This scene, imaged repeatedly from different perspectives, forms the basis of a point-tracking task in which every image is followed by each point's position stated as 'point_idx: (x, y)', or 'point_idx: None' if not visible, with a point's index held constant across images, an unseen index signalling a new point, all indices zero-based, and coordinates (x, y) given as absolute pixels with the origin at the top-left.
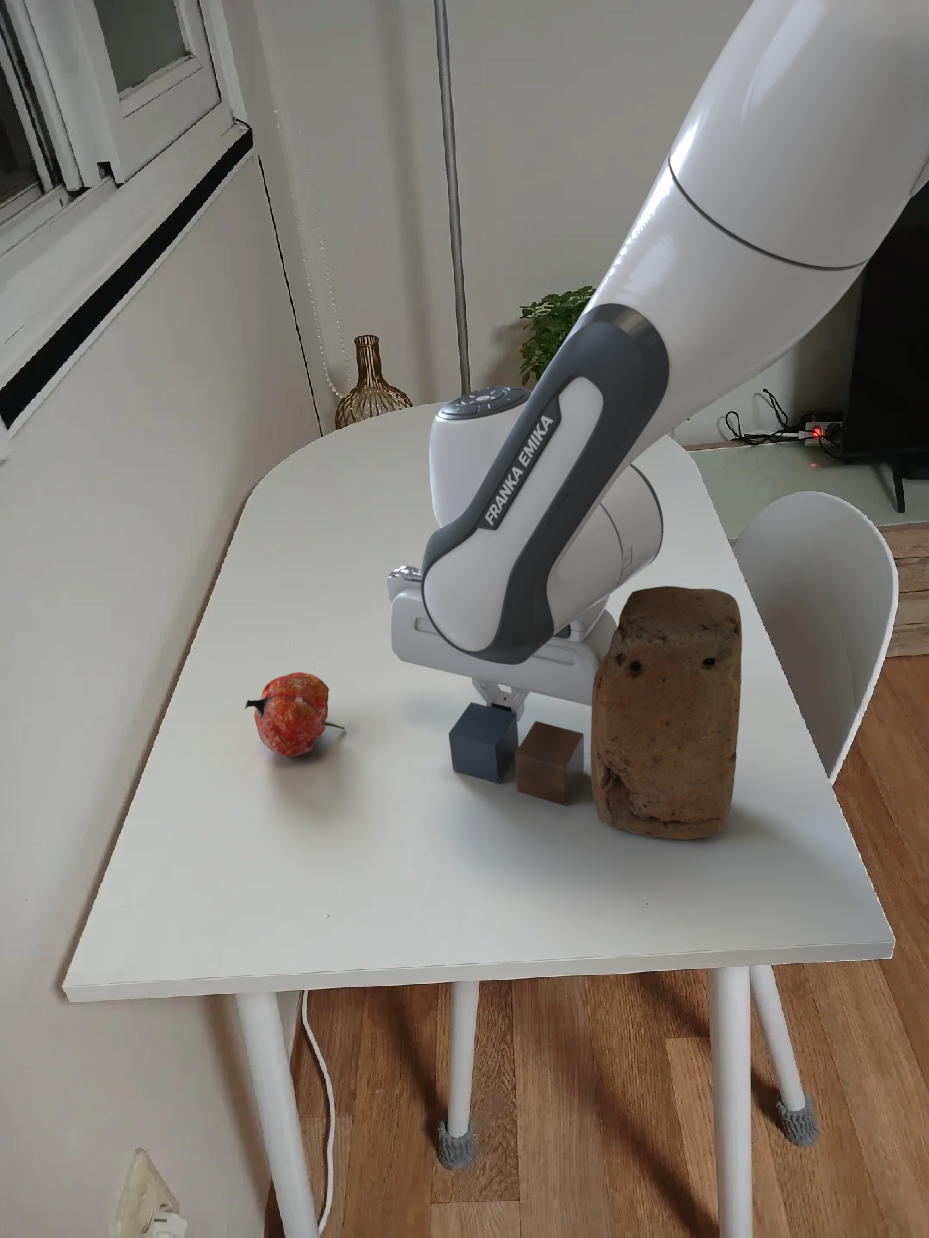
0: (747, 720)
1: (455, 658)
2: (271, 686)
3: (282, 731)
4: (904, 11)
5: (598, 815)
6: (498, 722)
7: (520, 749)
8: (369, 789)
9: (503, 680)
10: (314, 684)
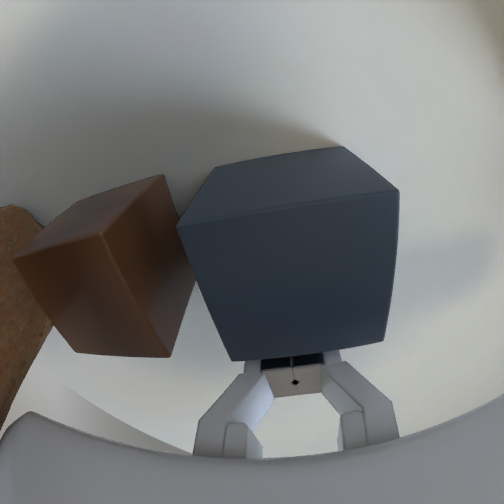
0: (88, 388)
1: (464, 490)
2: None
3: None
4: None
5: (10, 210)
6: (254, 321)
7: (101, 257)
8: (458, 30)
9: (245, 487)
10: None
